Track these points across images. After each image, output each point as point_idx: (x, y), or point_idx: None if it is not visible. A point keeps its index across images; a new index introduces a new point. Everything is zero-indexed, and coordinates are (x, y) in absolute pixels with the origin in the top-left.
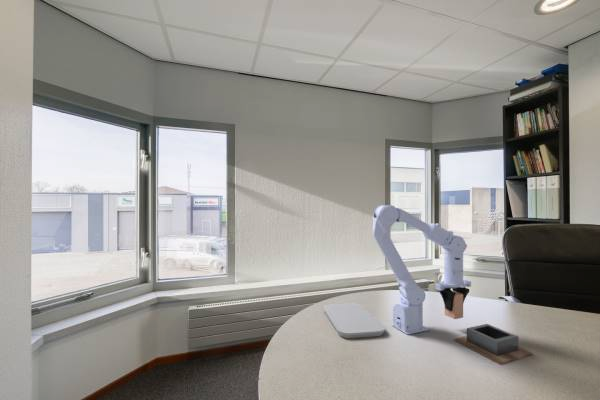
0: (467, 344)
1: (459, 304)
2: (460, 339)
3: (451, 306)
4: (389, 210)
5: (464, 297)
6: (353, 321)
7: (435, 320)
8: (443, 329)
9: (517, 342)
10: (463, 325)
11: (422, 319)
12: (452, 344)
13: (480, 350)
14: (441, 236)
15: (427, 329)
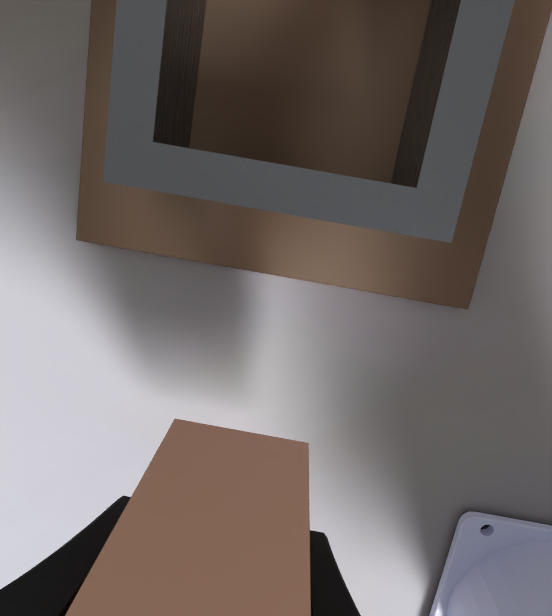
0: (480, 190)
1: (198, 541)
2: (433, 274)
3: (335, 572)
4: None
5: (16, 608)
6: None
7: None
8: (330, 460)
9: None
10: (98, 416)
11: (548, 612)
12: (549, 276)
13: (500, 64)
14: None
15: (484, 518)
